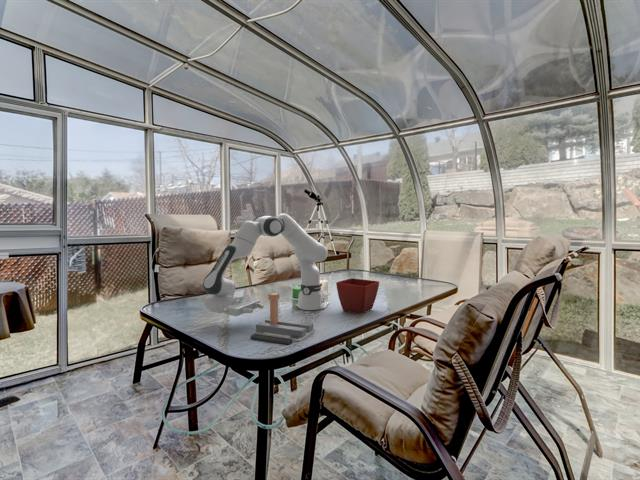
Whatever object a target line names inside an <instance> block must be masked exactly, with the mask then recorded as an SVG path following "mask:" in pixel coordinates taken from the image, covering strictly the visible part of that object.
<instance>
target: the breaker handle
mask: <svg viewBox="0 0 640 480" xmlns="http://www.w3.org/2000/svg"><path fill="white" fill-rule="evenodd" d="M279 299H280V293H277V292H272V293H268V301H269V318H270V324H278V319H279V314H278V313H279V310H278V309H279V305H278V304H279V303H278V302H279Z"/></svg>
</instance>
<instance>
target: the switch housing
mask: <svg viewBox="0 0 640 480" xmlns="http://www.w3.org/2000/svg"><path fill="white" fill-rule="evenodd" d="M315 331H316V328H314V323H312V322H304V321H296V320H288V319H280V318H278V324H270V317H268V318H266V319H264V321H263V322H262V321H260V322H258V323H256V324H255V331H253V332H252V335H254V334H261V335H268V336H275V337H281V338H288V339H292V340H293V341H295V342H301V341H303V340H305V339H306V338H307V337H309V336H310V335H311V334H312V333H314V332H315Z"/></svg>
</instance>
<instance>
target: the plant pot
mask: <svg viewBox="0 0 640 480" xmlns="http://www.w3.org/2000/svg"><path fill="white" fill-rule="evenodd" d="M335 283H336V290H337V295H338V299H339V302H340V305H341V309H342V311H344V312H348V311H349V313H353V312H356V313H355V314H359V313H363V314H365V313H367V312H366V311H368V310H370V309H372V310H373V307H374V305H375V301H376V298H377V294H378V291H379V286H380V281H379V280H378V281H377V280H368V279H360V278H352V277H351V278H347V279H344V280H340V281H336V282H335ZM370 311H371V310H370ZM364 312H365V313H364ZM368 312H369V311H368Z"/></svg>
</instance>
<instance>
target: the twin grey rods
mask: <svg viewBox="0 0 640 480" xmlns="http://www.w3.org/2000/svg"><path fill="white" fill-rule="evenodd" d="M250 339H251V340H255V341H256V340H257V341H264V342H268V343H269V342H271V343H276V344H282V345H290V344H292V343H293V341H294V340H292V339H288V338H281V337H275V336H268V335H261V334H251V335H250Z"/></svg>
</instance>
